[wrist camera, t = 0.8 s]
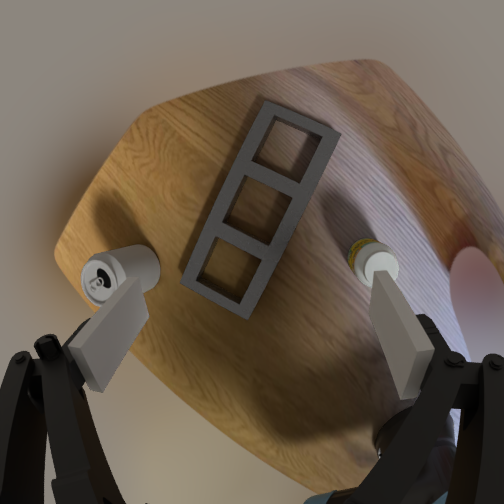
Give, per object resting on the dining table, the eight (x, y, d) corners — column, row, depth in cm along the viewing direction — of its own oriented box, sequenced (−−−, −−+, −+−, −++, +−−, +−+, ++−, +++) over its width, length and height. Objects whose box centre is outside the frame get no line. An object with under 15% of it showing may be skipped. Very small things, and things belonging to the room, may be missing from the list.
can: (172, 272, 46) (130, 291, 34) (142, 298, 47) (98, 322, 36) (143, 233, 46) (96, 242, 34) (116, 262, 47) (68, 276, 36)
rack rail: (339, 138, 38) (341, 133, 36) (251, 314, 44) (247, 320, 42) (267, 106, 40) (265, 100, 37) (186, 279, 45) (179, 282, 43)
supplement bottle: (361, 283, 41) (376, 304, 31) (339, 254, 41) (348, 267, 31) (391, 259, 39) (412, 273, 30) (369, 229, 40) (386, 235, 30)
